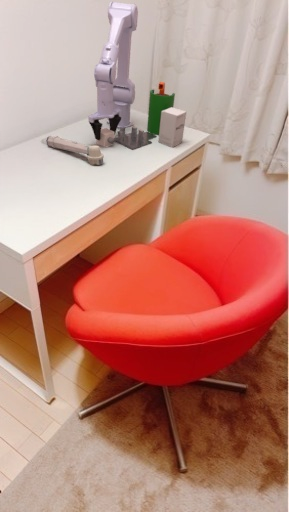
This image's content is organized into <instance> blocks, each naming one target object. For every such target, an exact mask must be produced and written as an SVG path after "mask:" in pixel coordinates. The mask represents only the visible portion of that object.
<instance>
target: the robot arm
mask: <svg viewBox="0 0 289 512" xmlns="http://www.w3.org/2000/svg"><path fill="white" fill-rule="evenodd" d="M107 17H108V22H109V25H110V27H109V33H108V39H107V42H106V43H105V44H103V47H102V51H101V55H100V58H99V62H98V64H96V65H95V66H94V67H95V68H94V73H93V74H94V80H95V86H96V89H97V90H96V94H97V95H96V97H97V100H96V101H97V102H96V103H97V105H96V106H97V111H96V112H94V113H93V114H91V115H88V123H89V125H90V127H91V129H92V131H93V134H94V139H95V140H96V139H97V140H100V137H101V129H102V127H103V123H101V122H100V121H101V120H106V119H108V120H107V121H106V123H107V124H109V129H110V130H112V131H114V137H115V136H116V131H117V129H118V128H119V129H120V127H122V126H124V127H125V129H126V128H128V127H133V126H134V125H135V123H133V122H131V105H132V104H133V103H135V102H134V101H135V98H136V90H135V89H136V86H135V84H134V82H133V81H132V80H131V79H130V77H129V76H130V64H131V63H130V62H131V61H130V60H131V46H132V35H133V32H135V31H137V27H138V17H139V11H138V6H137V5H136V4H135V3H134V4H133V3H125V2H124V3H122V2H115V1H110V2H109V4H108V8H107Z"/></svg>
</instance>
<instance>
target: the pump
mask: <svg viewBox="0 0 289 512" xmlns="http://www.w3.org/2000/svg"><path fill="white" fill-rule="evenodd" d="M114 138H115V136H114V131H112V130H110V128H108V127H104V128H101V137H100V140H97V139H95V141H96V144H98V146H101V147H102V148H106V147H110V146H113V145H115V139H114Z"/></svg>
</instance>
